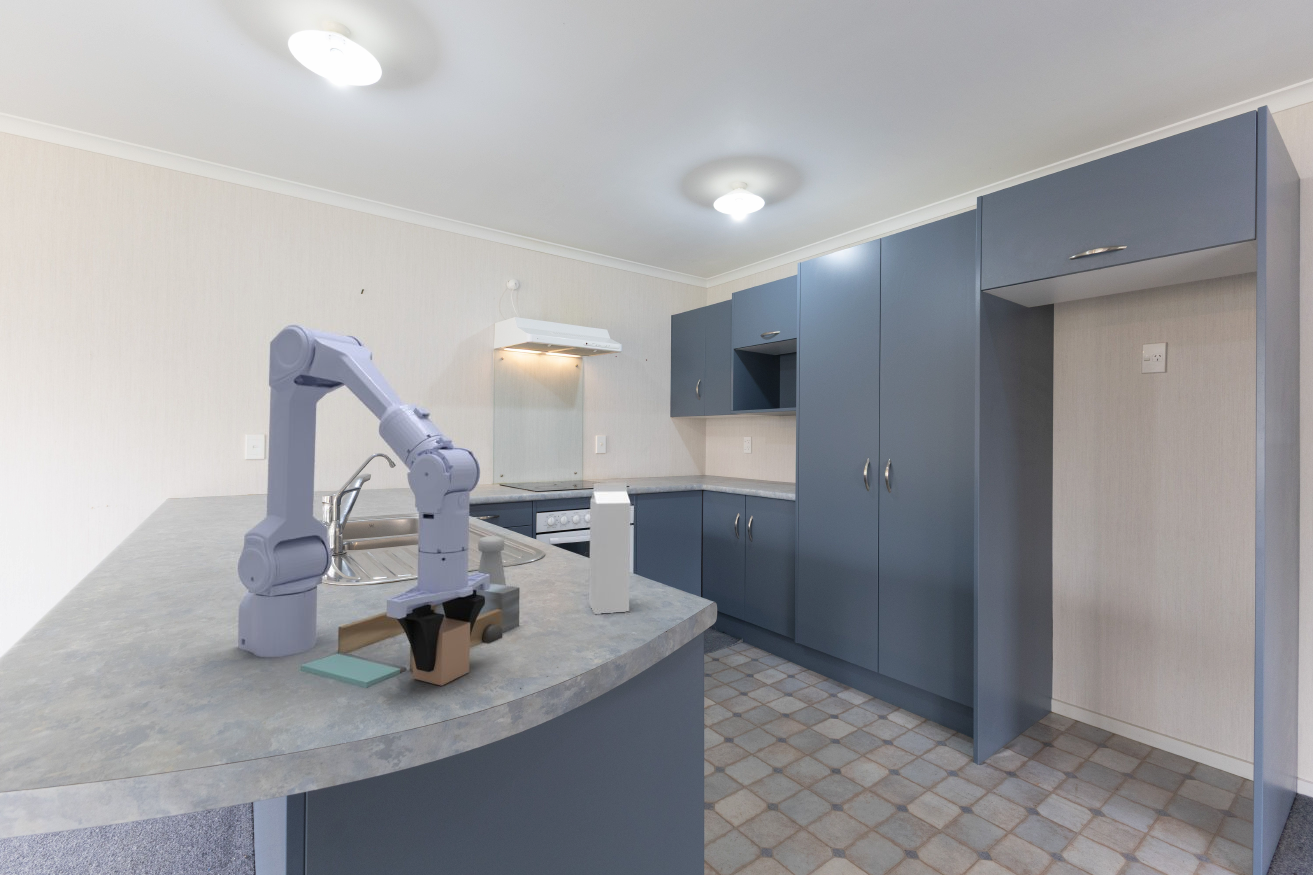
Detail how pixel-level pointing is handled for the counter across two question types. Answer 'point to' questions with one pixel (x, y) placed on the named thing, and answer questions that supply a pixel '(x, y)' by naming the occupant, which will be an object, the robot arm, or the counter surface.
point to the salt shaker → (492, 558)
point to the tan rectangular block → (448, 653)
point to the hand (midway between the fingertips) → (441, 662)
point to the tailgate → (352, 669)
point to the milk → (609, 548)
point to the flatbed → (487, 628)
